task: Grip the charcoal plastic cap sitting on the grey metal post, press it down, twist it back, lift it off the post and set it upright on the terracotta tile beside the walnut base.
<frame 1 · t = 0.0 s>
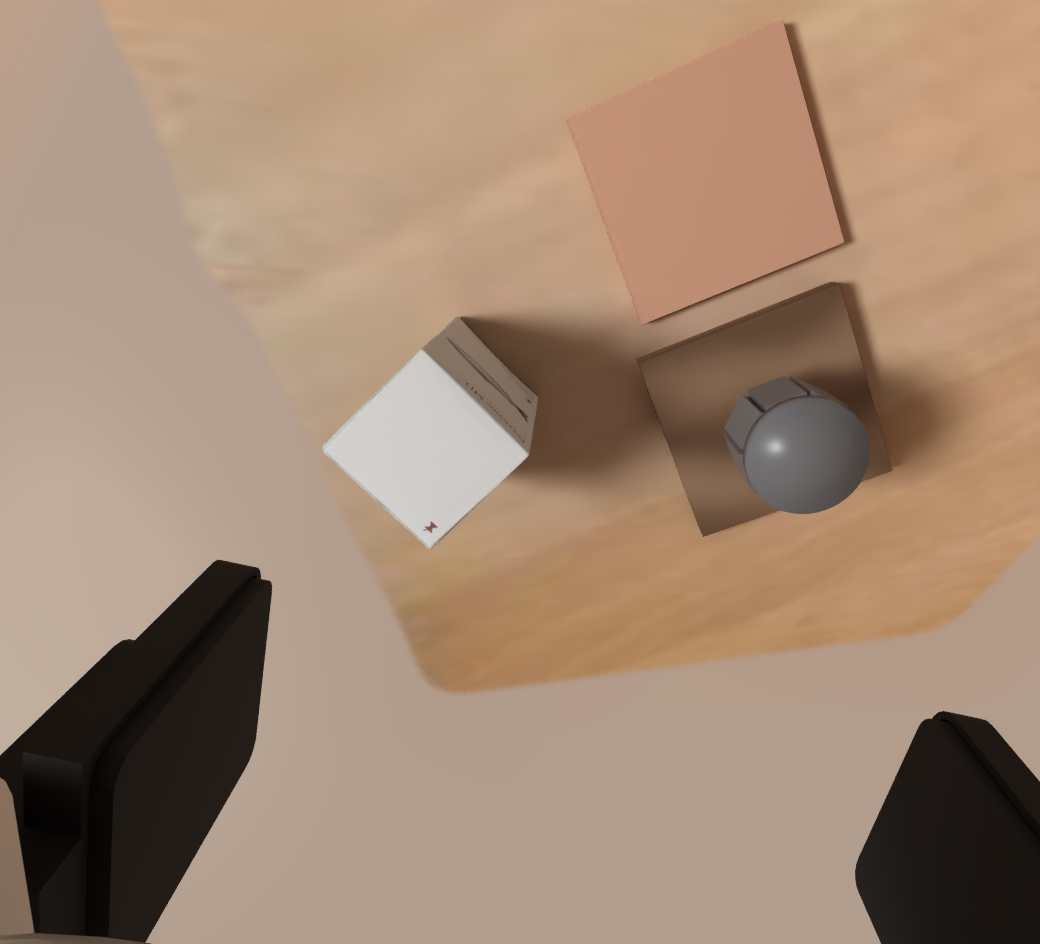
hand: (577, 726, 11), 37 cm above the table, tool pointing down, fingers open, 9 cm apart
tile: (704, 182, 43), on the table
supplement box: (460, 394, 48), on the table
cap: (780, 431, 42), point 4 cm above the table, touching post base
post base: (761, 411, 47), on the table
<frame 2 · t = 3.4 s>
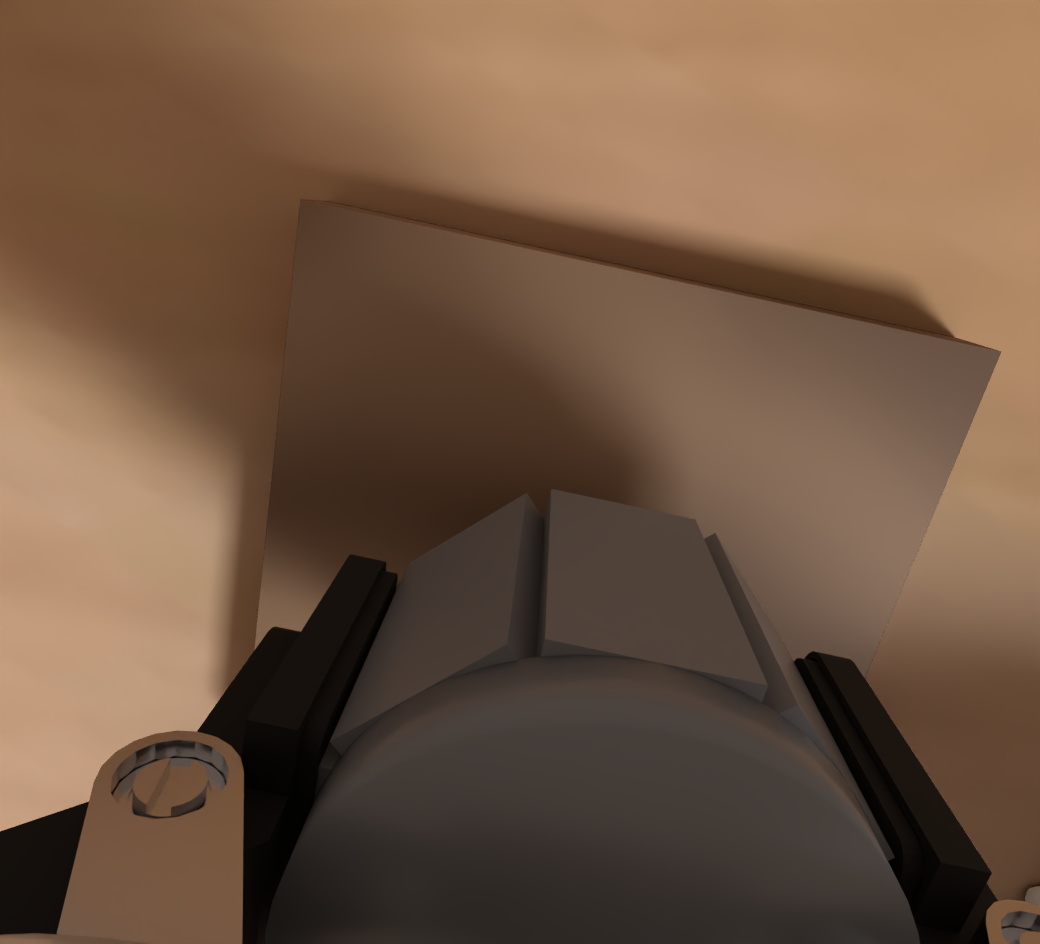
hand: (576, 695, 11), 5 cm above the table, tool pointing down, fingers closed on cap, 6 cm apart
cap: (575, 680, 12), point 5 cm above the table, touching gripper, post base
post base: (571, 556, 16), on the table
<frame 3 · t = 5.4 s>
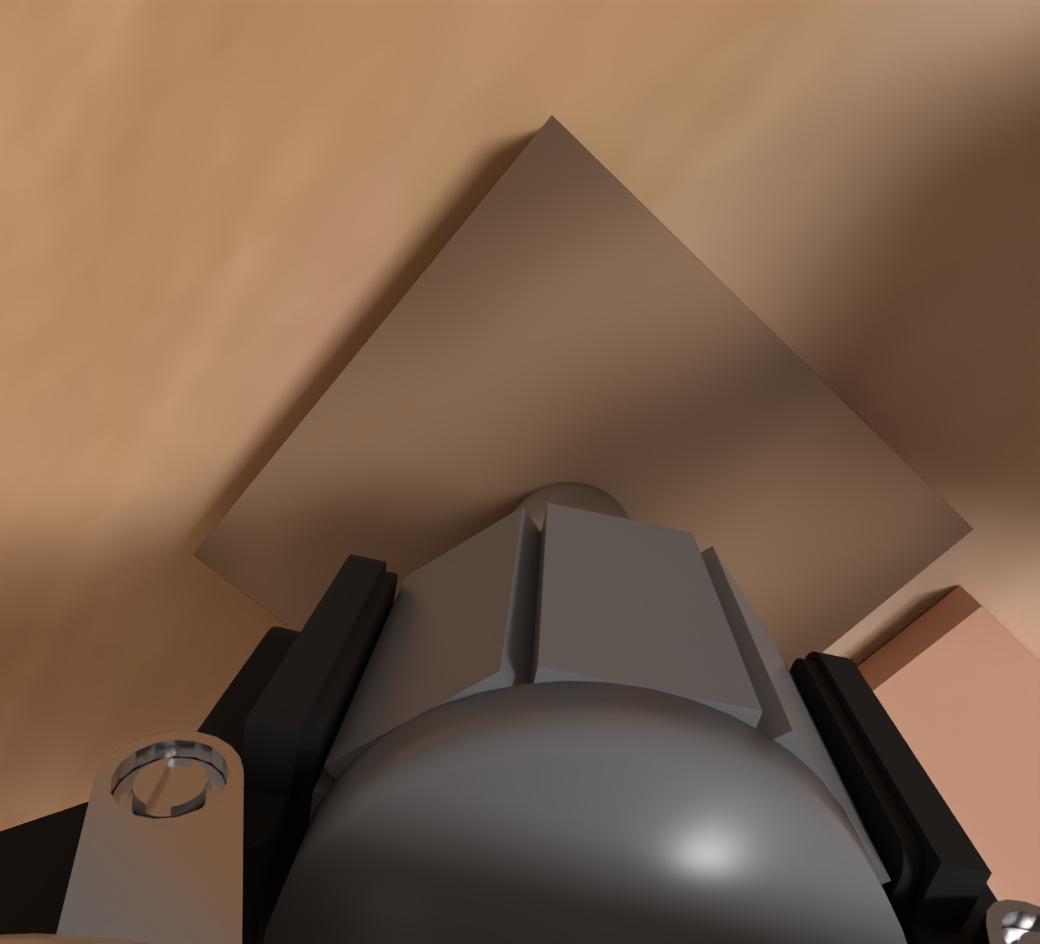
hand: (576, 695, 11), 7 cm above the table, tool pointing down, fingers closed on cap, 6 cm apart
tile: (920, 863, 21), on the table
cap: (573, 692, 12), point 7 cm above the table, touching gripper
post base: (568, 516, 18), on the table
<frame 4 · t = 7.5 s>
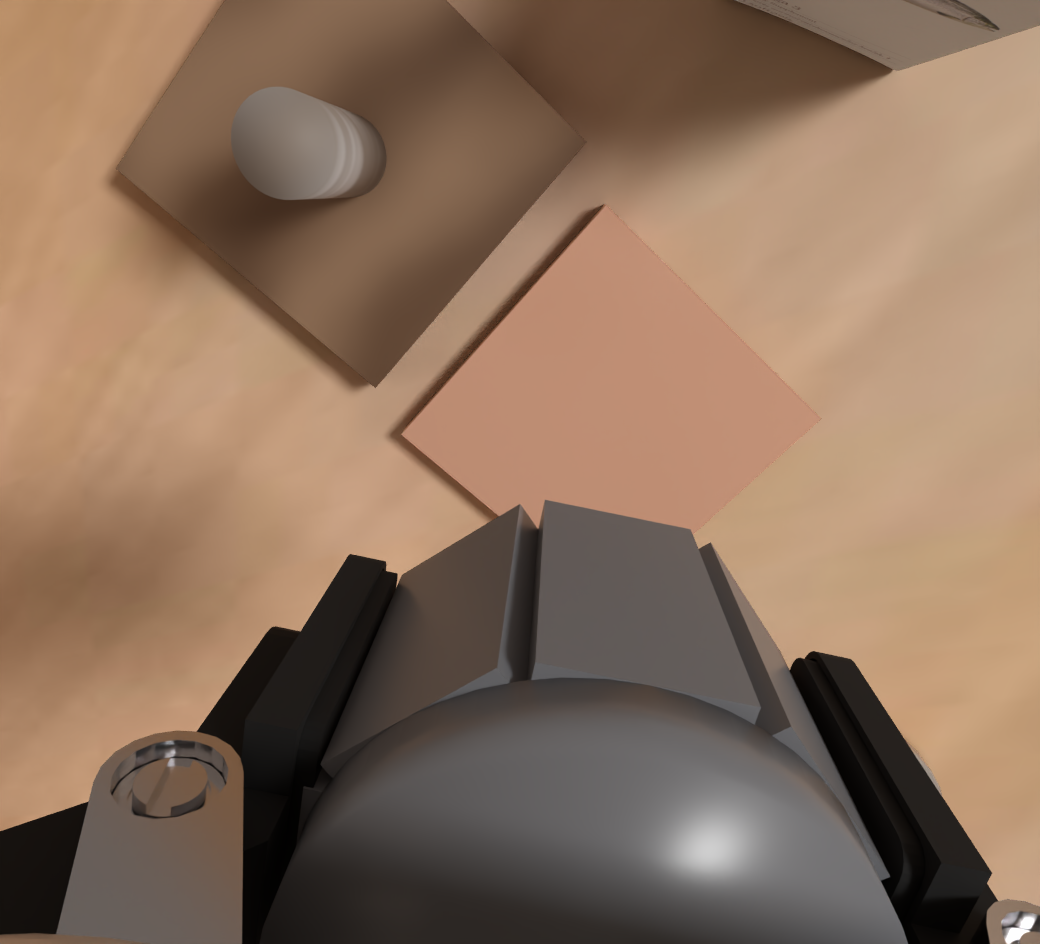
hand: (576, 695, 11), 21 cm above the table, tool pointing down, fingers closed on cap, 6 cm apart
tile: (606, 419, 31), on the table
cap: (571, 689, 12), point 21 cm above the table, touching gripper
post base: (357, 157, 28), on the table
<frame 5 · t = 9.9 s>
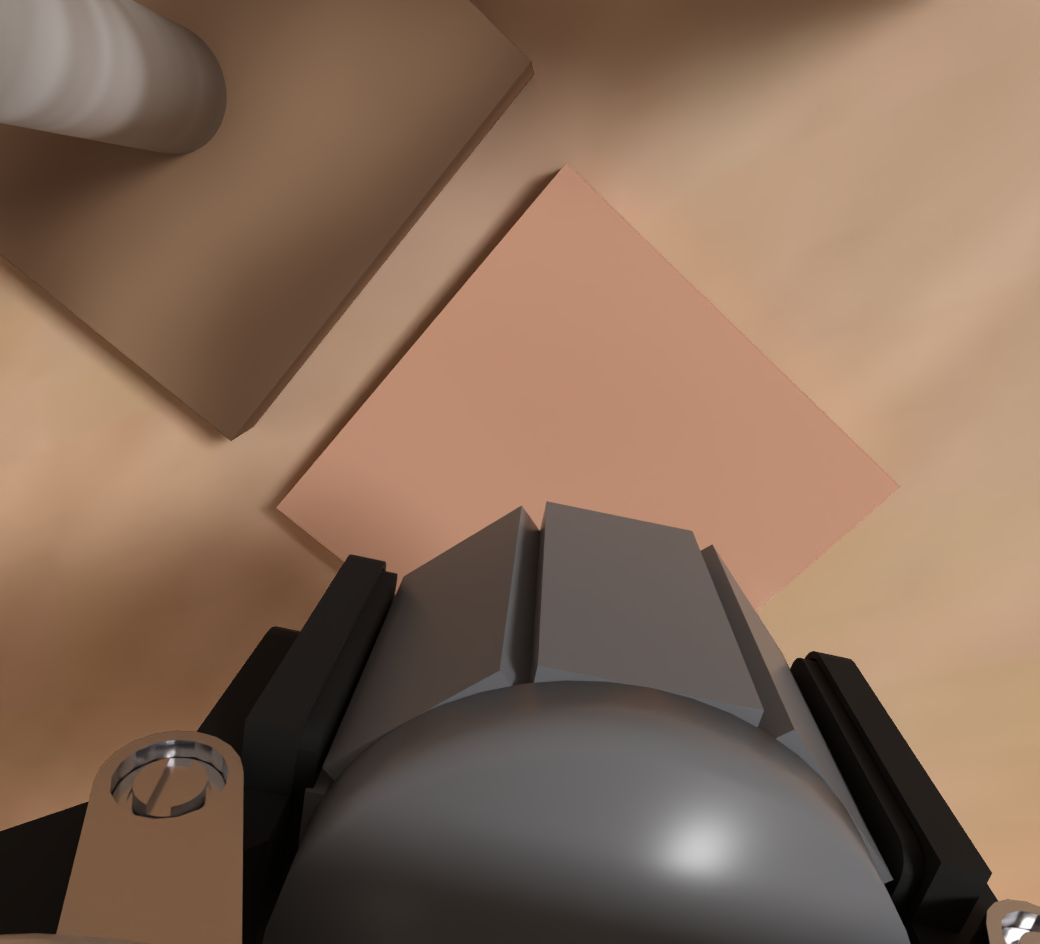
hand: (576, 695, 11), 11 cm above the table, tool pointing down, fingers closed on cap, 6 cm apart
tile: (578, 485, 21), on the table
cap: (573, 691, 12), point 10 cm above the table, touching gripper
post base: (197, 99, 19), on the table
when the fingers open (3 cm above the table, at t = 11.9 s): cap drops 1 cm, resting on tile.
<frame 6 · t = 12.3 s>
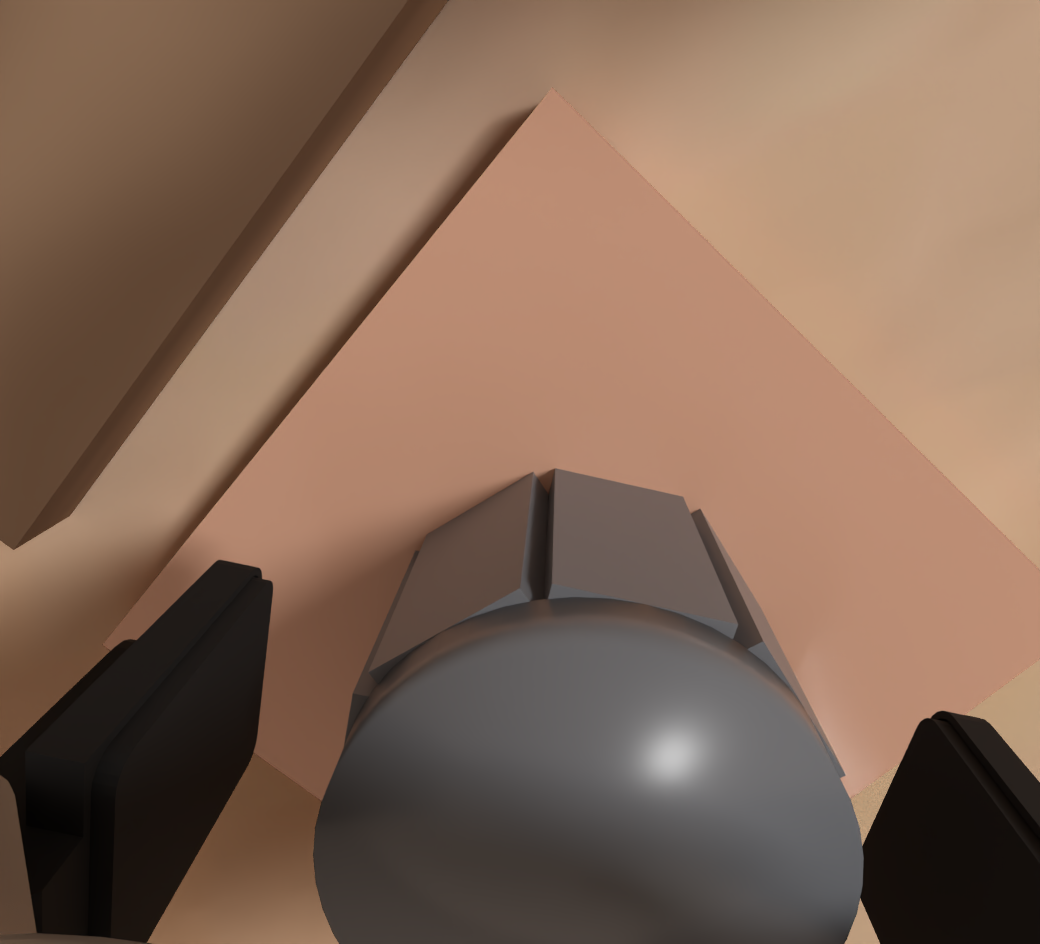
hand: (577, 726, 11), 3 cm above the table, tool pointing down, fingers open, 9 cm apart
tile: (573, 605, 14), on the table
cap: (575, 641, 13), point 1 cm above the table, touching tile
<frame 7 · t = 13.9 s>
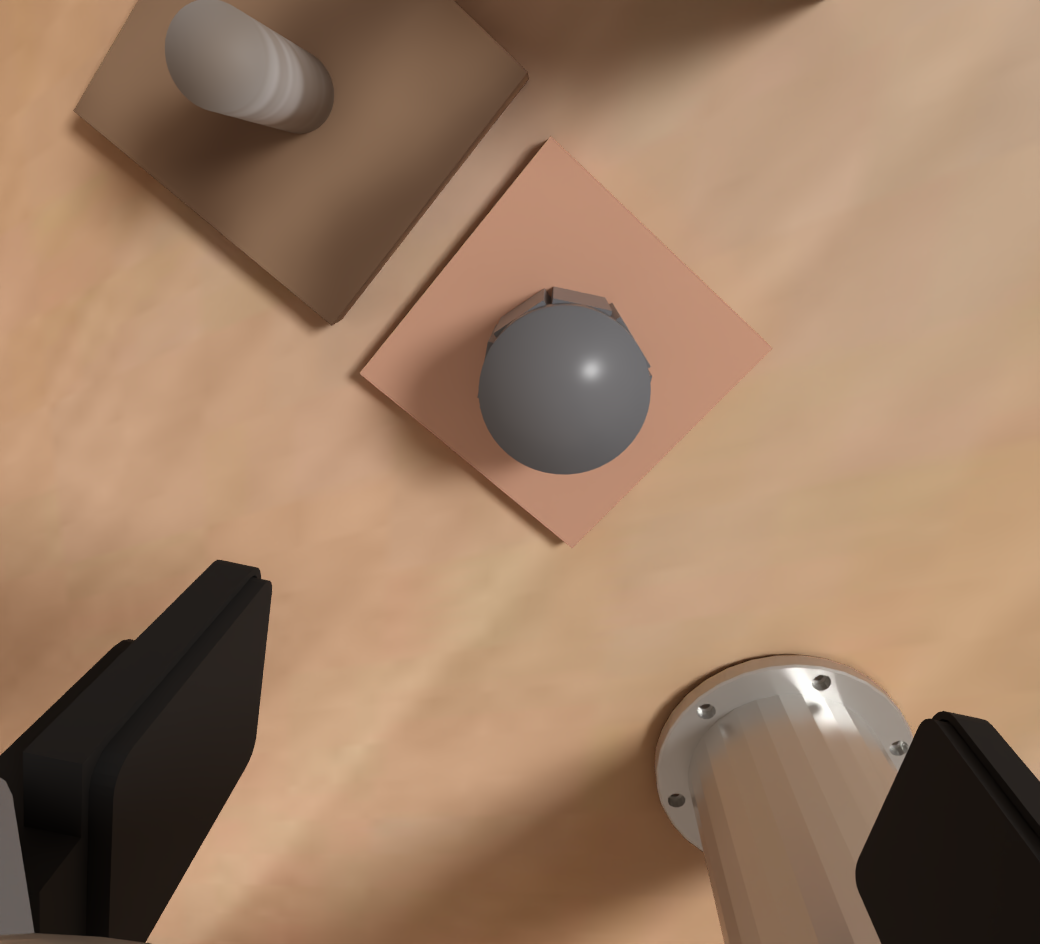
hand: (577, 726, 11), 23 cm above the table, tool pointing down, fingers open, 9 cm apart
tile: (562, 356, 32), on the table
cap: (562, 364, 31), point 1 cm above the table, touching tile
post base: (308, 97, 29), on the table
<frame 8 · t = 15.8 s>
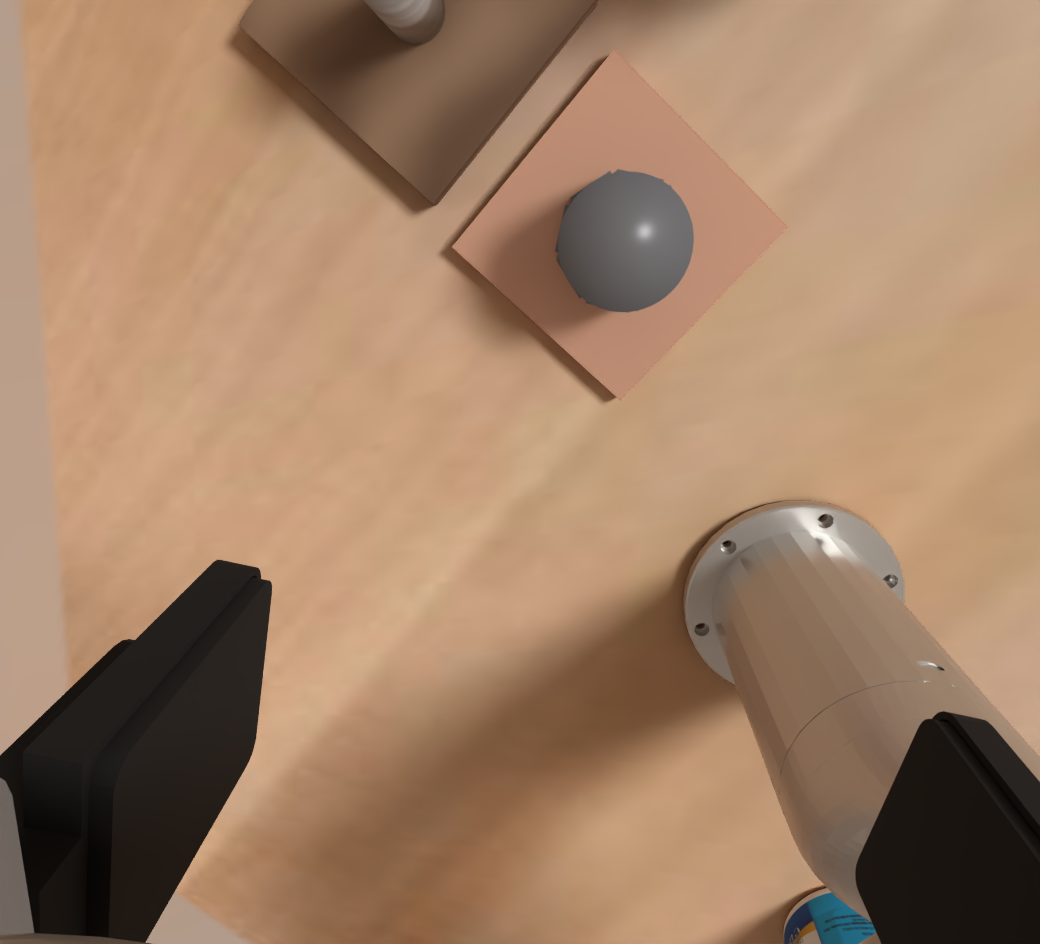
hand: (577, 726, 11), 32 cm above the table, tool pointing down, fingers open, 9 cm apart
tile: (616, 236, 39), on the table
beverage bottle: (838, 922, 53), on the table
cap: (617, 240, 38), point 1 cm above the table, touching tile
post base: (420, 18, 36), on the table
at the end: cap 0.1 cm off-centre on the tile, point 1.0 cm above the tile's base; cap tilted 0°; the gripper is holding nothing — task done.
